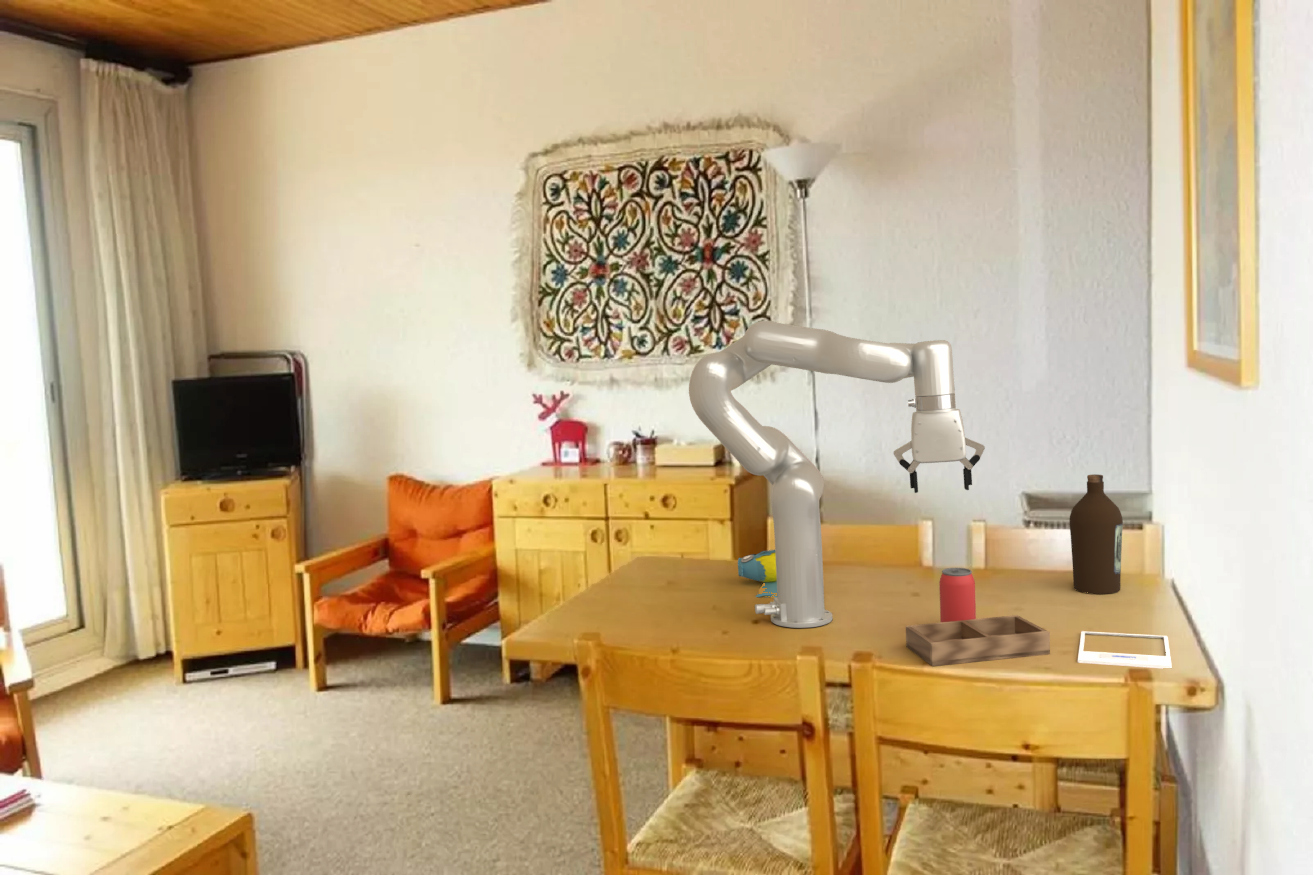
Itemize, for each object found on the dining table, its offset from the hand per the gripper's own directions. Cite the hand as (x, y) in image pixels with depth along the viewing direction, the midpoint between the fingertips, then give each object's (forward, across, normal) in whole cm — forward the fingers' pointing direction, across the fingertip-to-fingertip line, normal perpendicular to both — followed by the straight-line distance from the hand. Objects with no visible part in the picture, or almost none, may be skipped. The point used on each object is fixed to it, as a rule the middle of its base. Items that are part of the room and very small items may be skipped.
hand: (941, 490), depth 210 cm
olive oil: (+28, +32, +28) cm, 51 cm away
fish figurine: (+26, -40, +34) cm, 58 cm away
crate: (+27, +4, -18) cm, 33 cm away
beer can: (+27, +1, -6) cm, 28 cm away
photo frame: (+28, +29, -16) cm, 44 cm away
